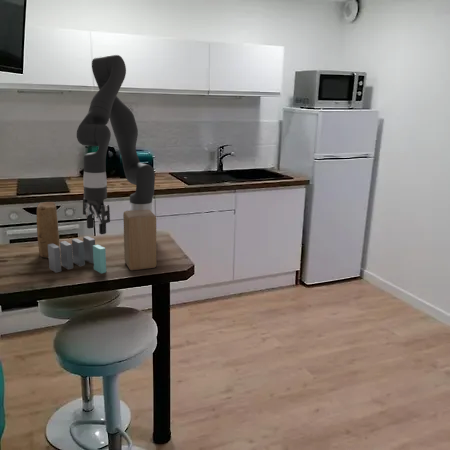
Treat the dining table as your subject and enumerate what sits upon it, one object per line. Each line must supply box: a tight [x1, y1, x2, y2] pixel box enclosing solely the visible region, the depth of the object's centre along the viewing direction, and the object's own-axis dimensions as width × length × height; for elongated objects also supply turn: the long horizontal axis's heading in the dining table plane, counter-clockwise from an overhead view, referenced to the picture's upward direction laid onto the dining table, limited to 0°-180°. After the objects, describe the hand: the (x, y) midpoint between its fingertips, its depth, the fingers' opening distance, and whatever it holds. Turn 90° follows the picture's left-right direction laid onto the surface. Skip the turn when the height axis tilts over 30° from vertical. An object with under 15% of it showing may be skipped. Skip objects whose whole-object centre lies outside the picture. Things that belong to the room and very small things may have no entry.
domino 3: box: [71, 238, 86, 267], centre depth 164 cm, size 2×5×9 cm, turn 45°
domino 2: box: [59, 240, 74, 270], centre depth 161 cm, size 2×5×9 cm, turn 45°
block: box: [36, 201, 60, 259], centre depth 171 cm, size 11×8×20 cm
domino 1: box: [48, 244, 62, 274], centre depth 158 cm, size 2×5×9 cm, turn 45°
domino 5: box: [93, 244, 107, 274], centre depth 159 cm, size 2×5×9 cm, turn 45°
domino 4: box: [82, 235, 96, 264], centre depth 167 cm, size 2×5×9 cm, turn 45°
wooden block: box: [122, 209, 157, 271], centre depth 164 cm, size 10×10×20 cm
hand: (96, 230), depth 156 cm, fingers open, 8 cm apart
